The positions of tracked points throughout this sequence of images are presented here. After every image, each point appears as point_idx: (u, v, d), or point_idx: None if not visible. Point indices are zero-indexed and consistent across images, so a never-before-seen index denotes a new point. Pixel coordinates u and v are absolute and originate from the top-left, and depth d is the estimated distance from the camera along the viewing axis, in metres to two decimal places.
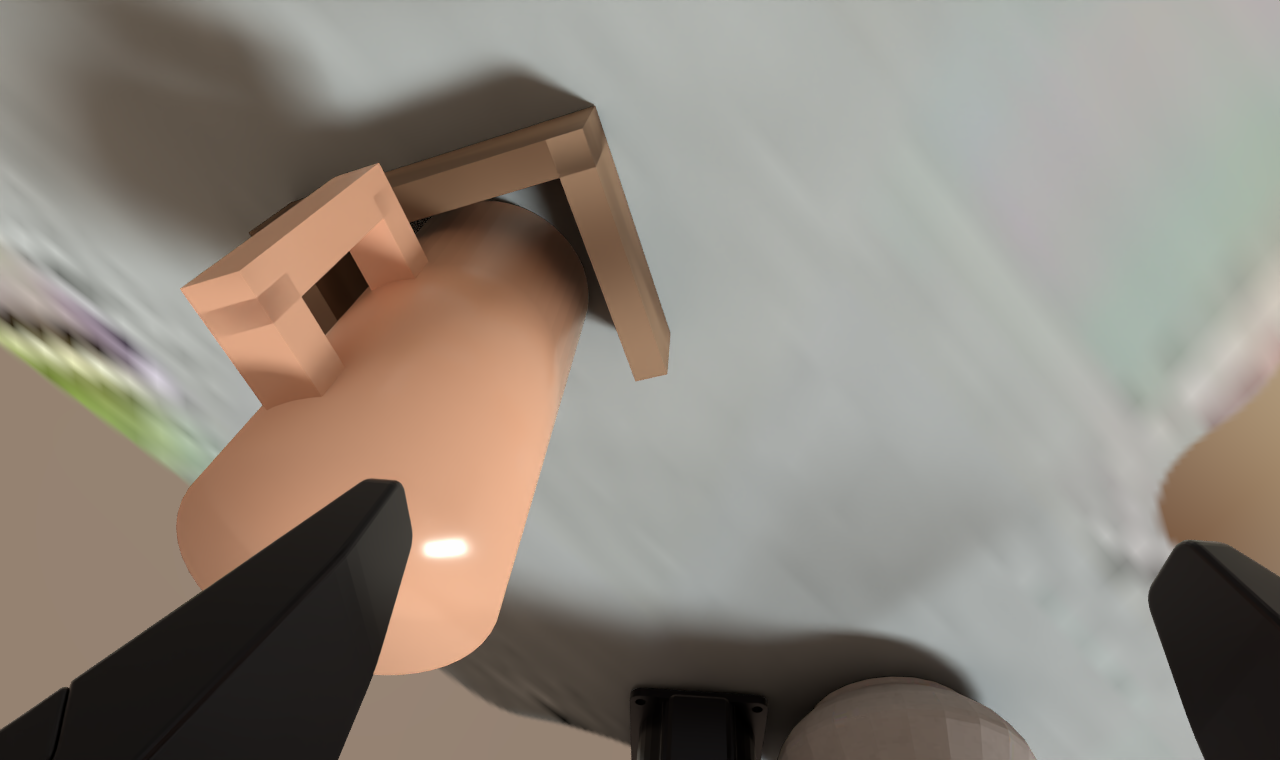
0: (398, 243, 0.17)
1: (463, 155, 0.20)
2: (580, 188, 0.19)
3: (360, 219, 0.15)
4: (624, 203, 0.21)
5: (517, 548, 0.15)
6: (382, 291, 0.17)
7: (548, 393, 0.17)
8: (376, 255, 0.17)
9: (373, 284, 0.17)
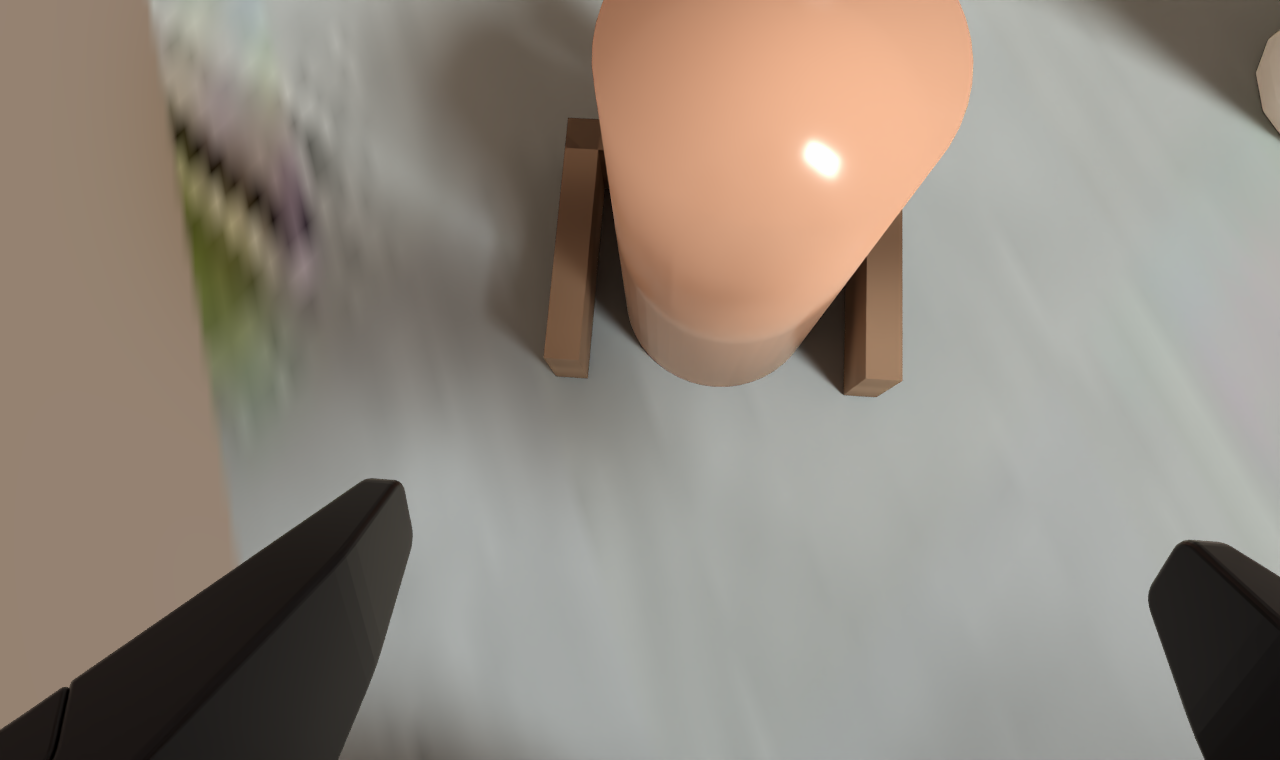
0: None
1: None
2: None
3: None
4: None
5: None
6: None
7: None
8: None
9: None
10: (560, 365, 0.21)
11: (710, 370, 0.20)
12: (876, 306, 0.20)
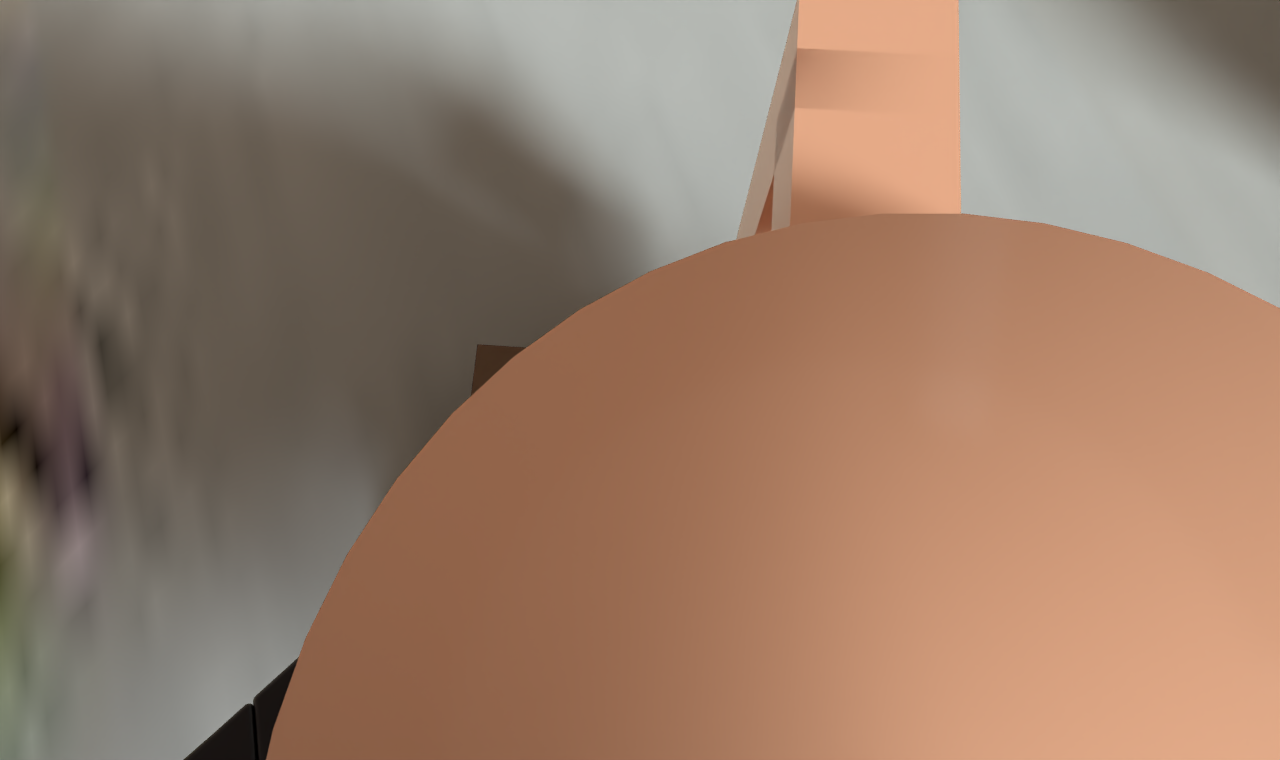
0: None
1: None
2: None
3: None
4: None
5: None
6: None
7: None
8: None
9: None
10: None
11: None
12: None
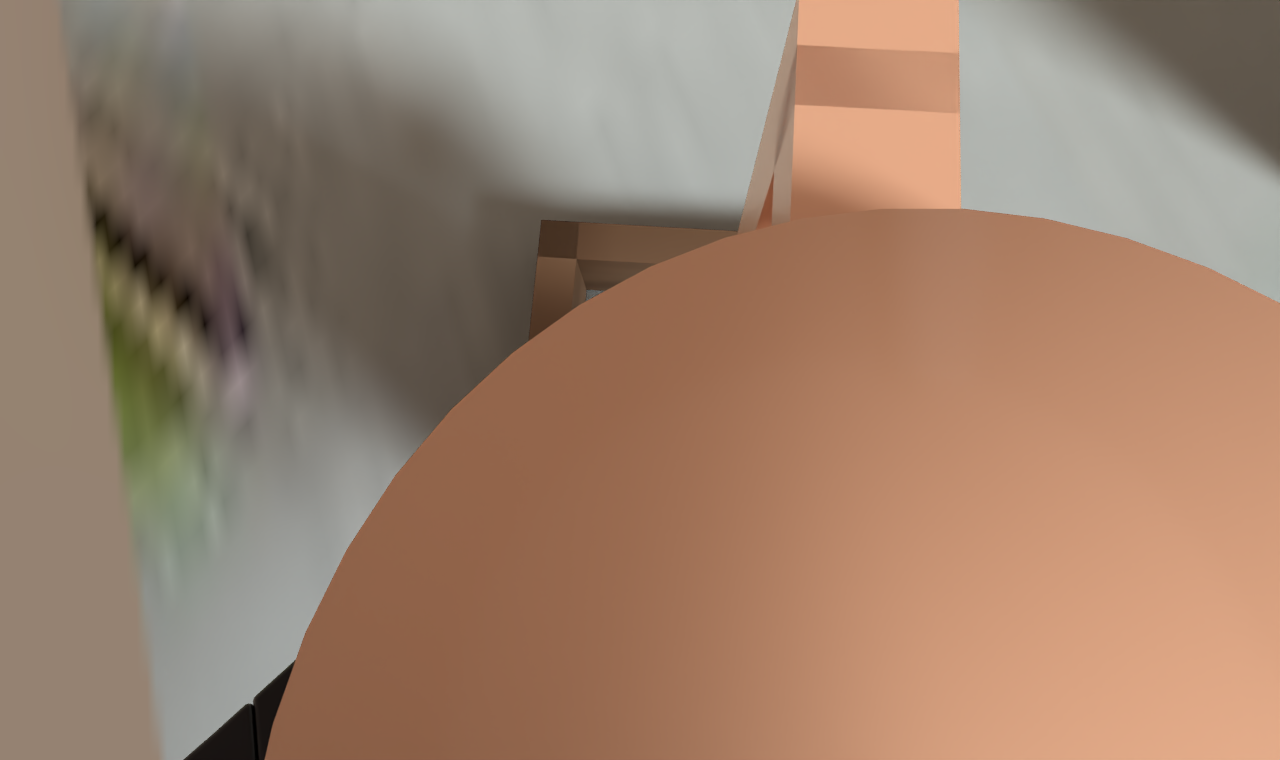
0: None
1: None
2: None
3: None
4: None
5: None
6: None
7: None
8: None
9: None
10: None
11: None
12: None
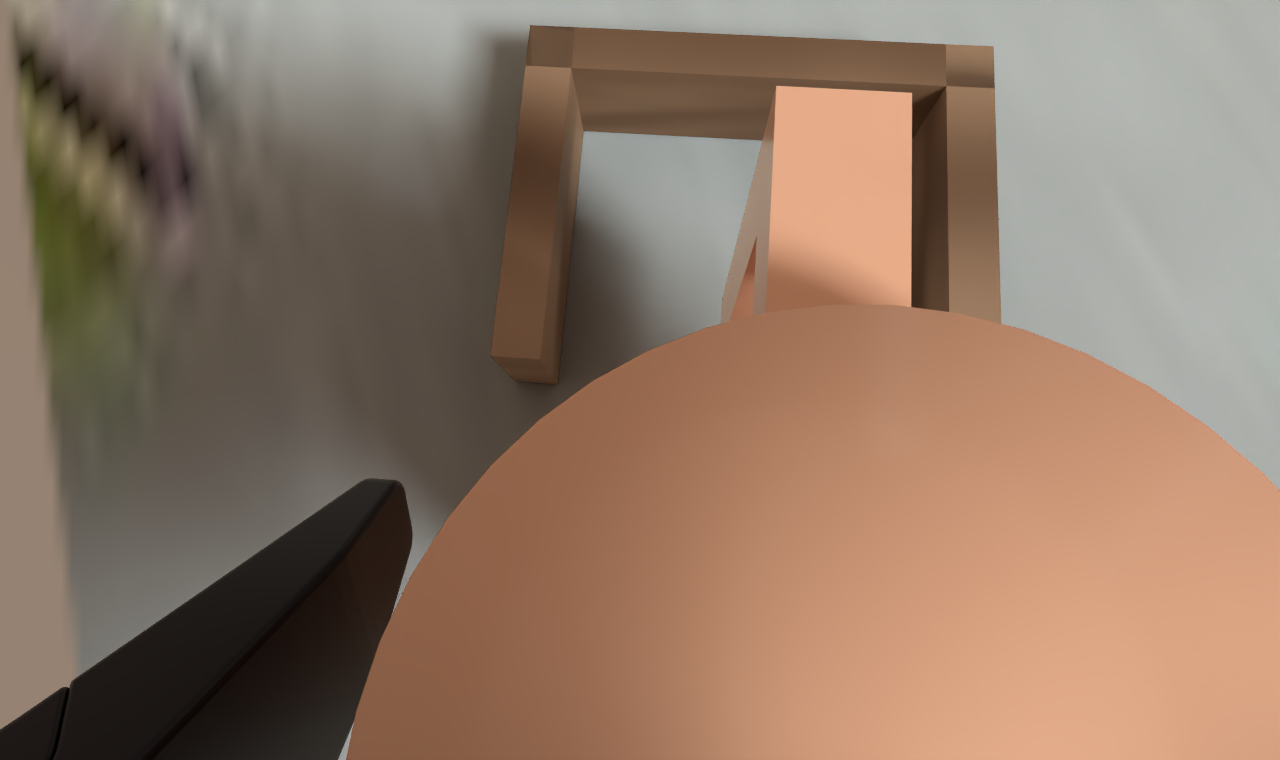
0: None
1: None
2: (967, 104, 0.15)
3: None
4: None
5: None
6: None
7: None
8: None
9: None
10: (516, 366, 0.15)
11: None
12: (963, 284, 0.14)
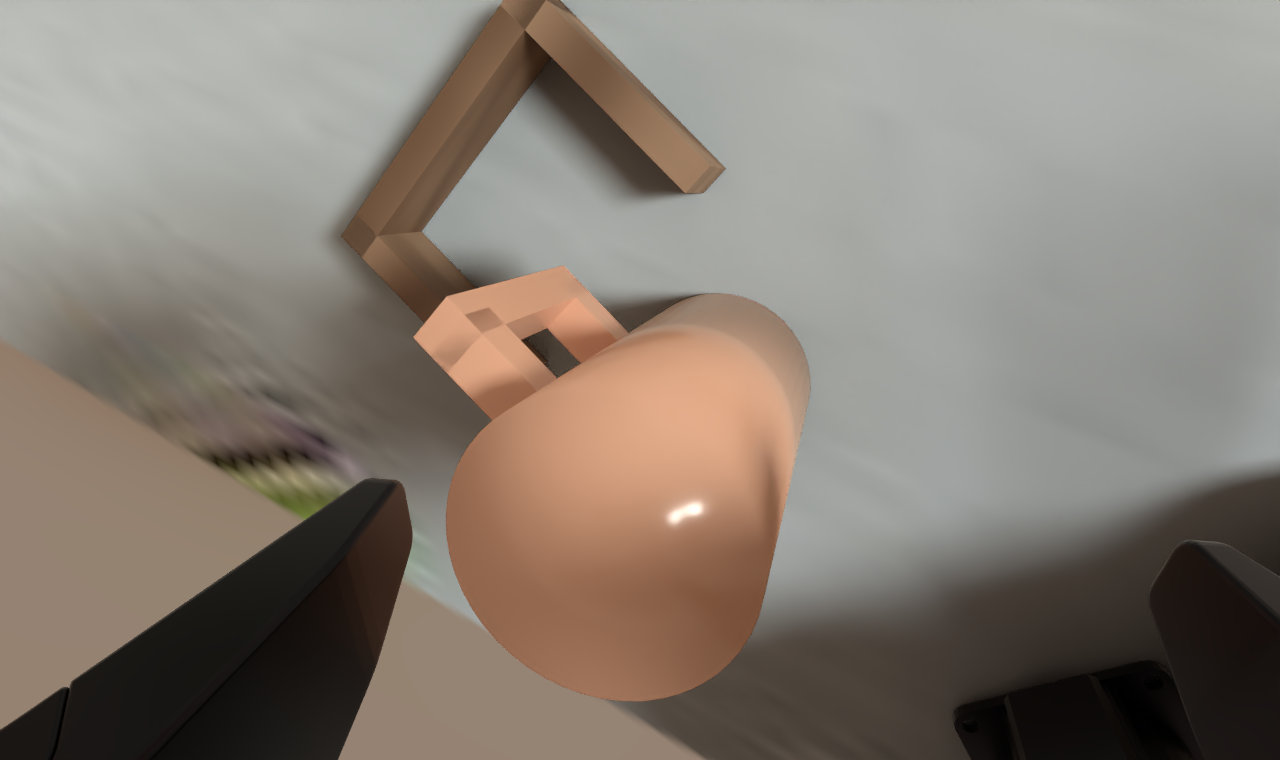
0: (594, 315, 0.19)
1: None
2: (544, 27, 0.20)
3: (553, 292, 0.18)
4: (614, 57, 0.22)
5: (770, 494, 0.13)
6: None
7: (767, 383, 0.17)
8: (581, 334, 0.19)
9: None
10: None
11: None
12: (639, 132, 0.20)
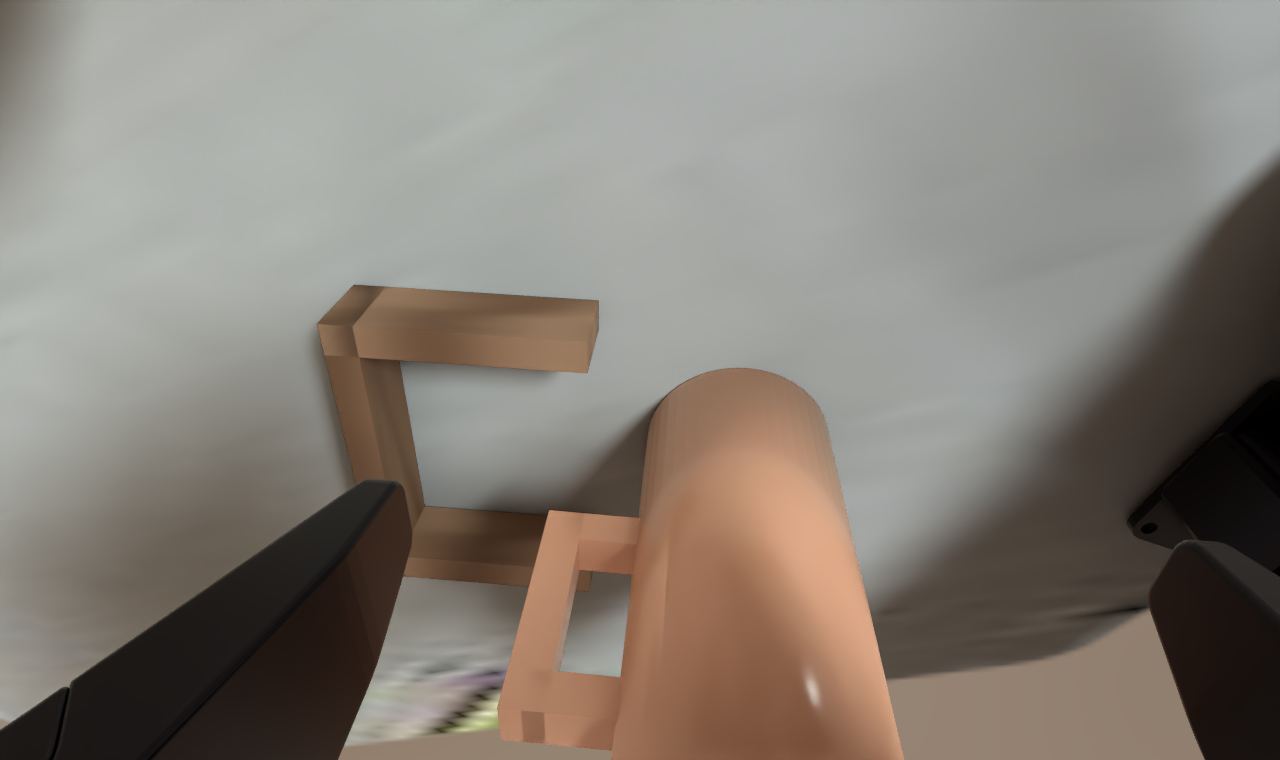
0: (604, 539, 0.19)
1: None
2: (370, 345, 0.20)
3: (561, 564, 0.19)
4: (439, 296, 0.21)
5: (847, 683, 0.14)
6: None
7: (775, 519, 0.17)
8: (607, 557, 0.20)
9: (630, 571, 0.20)
10: None
11: None
12: (512, 359, 0.20)
